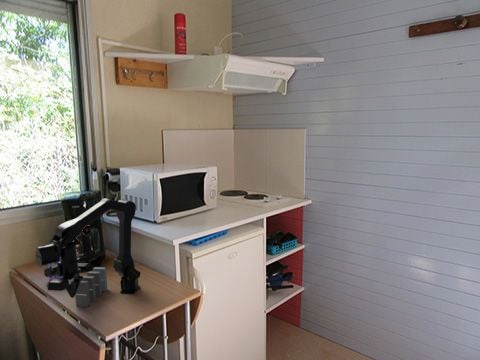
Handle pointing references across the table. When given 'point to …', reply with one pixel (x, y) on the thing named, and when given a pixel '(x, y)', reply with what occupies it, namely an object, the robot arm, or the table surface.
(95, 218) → the robot arm
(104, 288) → the domino
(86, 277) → the domino
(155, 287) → the table surface
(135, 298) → the table surface
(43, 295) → the table surface
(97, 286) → the domino
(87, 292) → the domino
